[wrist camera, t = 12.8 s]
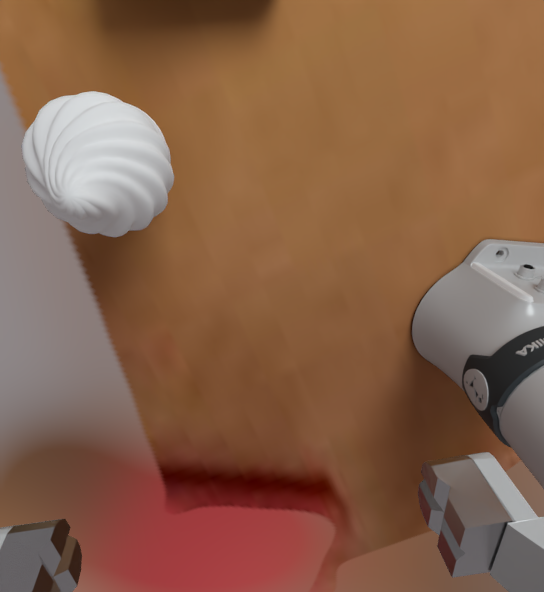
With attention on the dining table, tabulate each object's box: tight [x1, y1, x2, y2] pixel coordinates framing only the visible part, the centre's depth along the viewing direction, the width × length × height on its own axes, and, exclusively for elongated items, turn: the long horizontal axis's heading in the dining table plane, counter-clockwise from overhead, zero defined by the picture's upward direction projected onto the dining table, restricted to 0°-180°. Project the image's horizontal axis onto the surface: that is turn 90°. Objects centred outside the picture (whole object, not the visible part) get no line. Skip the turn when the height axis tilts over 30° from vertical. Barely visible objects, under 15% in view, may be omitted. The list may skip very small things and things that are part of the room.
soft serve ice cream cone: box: [21, 91, 174, 237], centre depth 27 cm, size 8×8×16 cm
